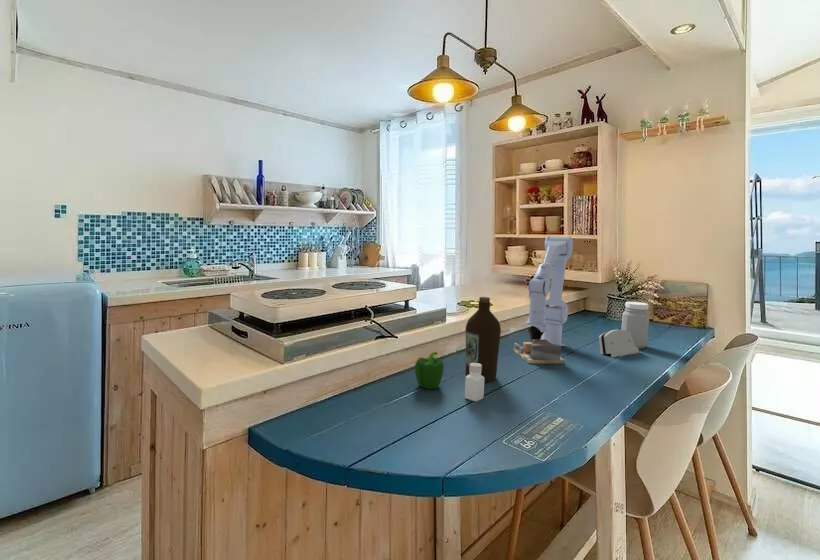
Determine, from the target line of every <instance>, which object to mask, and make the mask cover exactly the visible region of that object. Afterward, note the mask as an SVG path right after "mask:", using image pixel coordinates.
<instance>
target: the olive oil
mask: <svg viewBox="0 0 820 560" xmlns="http://www.w3.org/2000/svg"><path fill="white" fill-rule="evenodd" d="M478 298H479V301H478V309H477V311H475V312H474V313H473V315H471V316H470V317H469V319H467V322H466V324H465V377H466V376H467V375H469V374H470V371H469V369H470V368H469V367H470V363H479V364H481V365H482V369H481V370H482V371H481V376H483V377H484V378H485V379H484V383H489V382H494V381H495V380H496V379H497V371H498V359H499V351H500V350H499V349H500V341H501V332H502V331H501V329H502V328H501V324H500V321H499V320H498V318H497V317H496V316H495V315H494V314H493V312H492V311H491V309H490V308H491V302H490V301H491V297H488V296H480V297H478Z"/></svg>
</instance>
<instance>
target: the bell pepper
mask: <svg viewBox="0 0 820 560" xmlns="http://www.w3.org/2000/svg"><path fill="white" fill-rule="evenodd" d="M436 355H438V351H432V352H431V353H430V354H429V355H428V356H429V357H426V358H424V357H418V358H417V360H416V362H415V364H414V374H415V378H416V382H417V384H418V385H419V387H420V388H425V389H428V390H435V389H438V387H439V386H440V384H441V381H442V379H443V378H442V377H443V374H444V363H443V361H442V360H443V359H442V358H436V357H434V356H436Z"/></svg>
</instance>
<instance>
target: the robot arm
mask: <svg viewBox="0 0 820 560" xmlns="http://www.w3.org/2000/svg"><path fill="white" fill-rule="evenodd" d="M544 249H545V250H544V251H545V256H544V259H543V263H540V264H539V265H538V267H537V269H536V272H535V274H534V277H533V278H532V279H530V280H529V283H528V285H527V291H528V298H529V308H528V309H529V313H528V318H527V319H526V321H525V325H526V326H528V325H529V326H528V327H527V331H528V333H529V337H530V342H532V339H545V340H547V341H549V342H550V343H551V344H559V345H560V346H561V347H566V344H564V343H563V342H562V335H563V324H565V323H566V322H567V320H568V315H569V314H568V313H569V312H568V311H569V310H568V309H569V306H568V304H567V303H566V302H565V301H564V300H563V299H562V297H563V290H564V281H565V276H566V275H565V274H566V268H567V267H566V265H567V261H568V260H569V259H571V258H572V254H573V250H574V240H573V237H571V236H550V235H548V236H546V237H545V240H544ZM548 294H549V296H548ZM547 296H548V298H547Z"/></svg>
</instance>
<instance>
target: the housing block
mask: <svg viewBox="0 0 820 560" xmlns="http://www.w3.org/2000/svg"><path fill="white" fill-rule="evenodd" d="M532 344H551V343H550V342H549V341H547V340H545V339H532Z"/></svg>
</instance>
